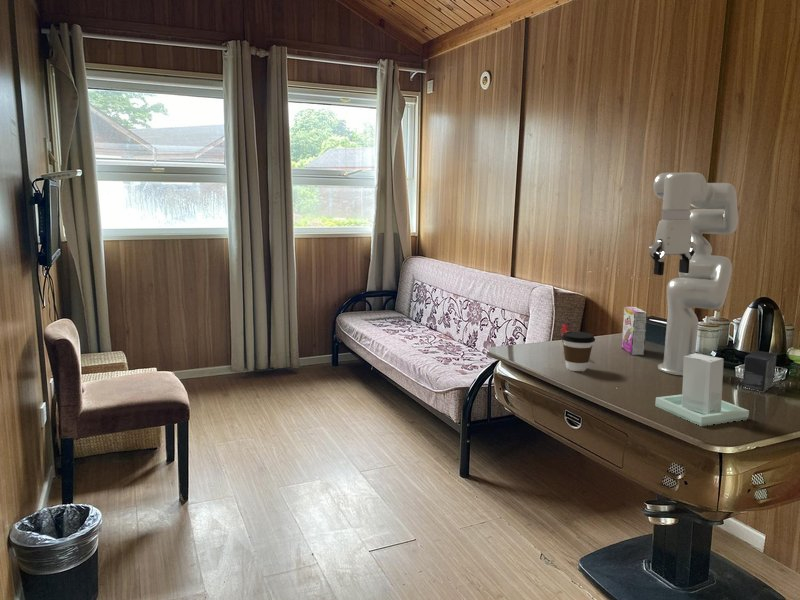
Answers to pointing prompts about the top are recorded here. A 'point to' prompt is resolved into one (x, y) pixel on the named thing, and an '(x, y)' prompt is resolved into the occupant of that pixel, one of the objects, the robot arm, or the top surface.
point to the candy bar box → (634, 330)
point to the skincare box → (702, 383)
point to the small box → (759, 370)
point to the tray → (725, 415)
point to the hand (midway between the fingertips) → (671, 273)
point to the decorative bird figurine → (564, 330)
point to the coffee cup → (577, 349)
